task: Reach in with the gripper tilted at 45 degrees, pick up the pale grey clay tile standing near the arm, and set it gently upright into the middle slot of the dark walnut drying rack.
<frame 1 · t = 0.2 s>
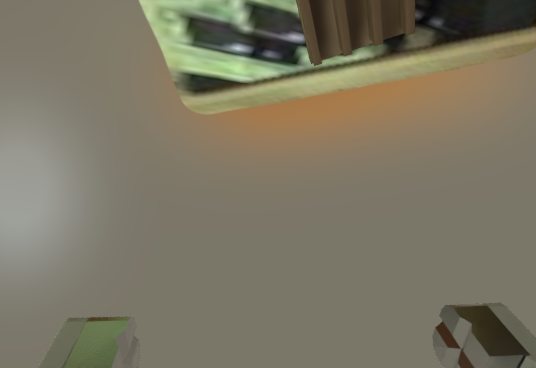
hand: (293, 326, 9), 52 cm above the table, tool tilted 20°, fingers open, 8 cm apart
drying rack: (351, 0, 52), on the table
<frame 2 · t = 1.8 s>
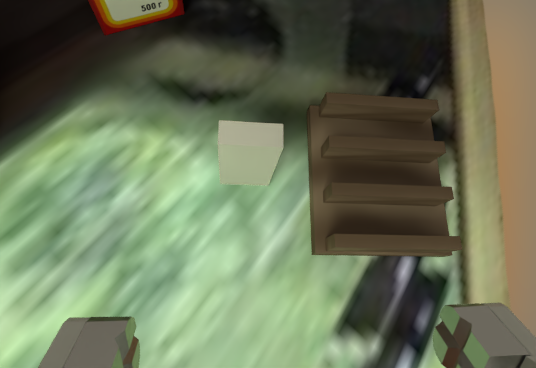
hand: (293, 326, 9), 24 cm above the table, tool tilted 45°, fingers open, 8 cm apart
baking soda box: (136, 4, 41), on the table
drying rack: (371, 181, 37), on the table
clay tile: (244, 175, 36), on the table
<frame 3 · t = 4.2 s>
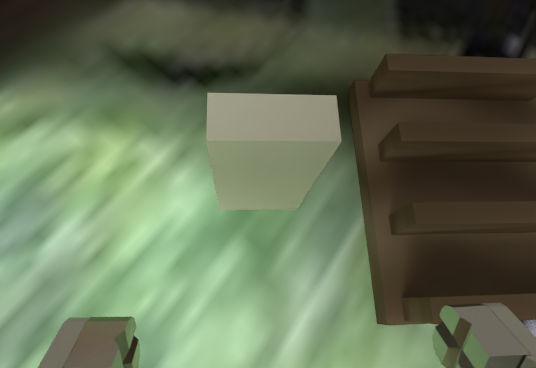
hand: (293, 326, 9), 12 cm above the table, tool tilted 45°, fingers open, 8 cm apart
drying rack: (459, 194, 24), on the table
clay tile: (258, 194, 22), on the table
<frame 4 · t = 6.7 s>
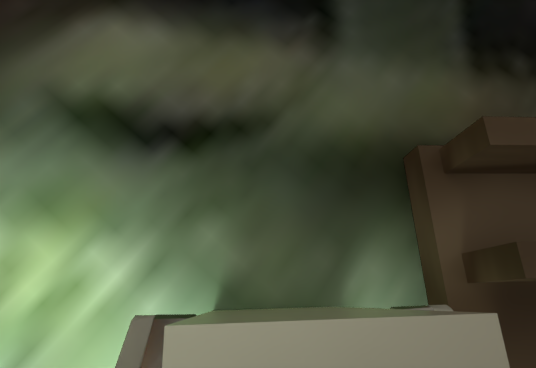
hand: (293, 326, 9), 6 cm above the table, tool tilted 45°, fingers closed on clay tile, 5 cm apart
clay tile: (273, 334, 14), on the table, touching gripper
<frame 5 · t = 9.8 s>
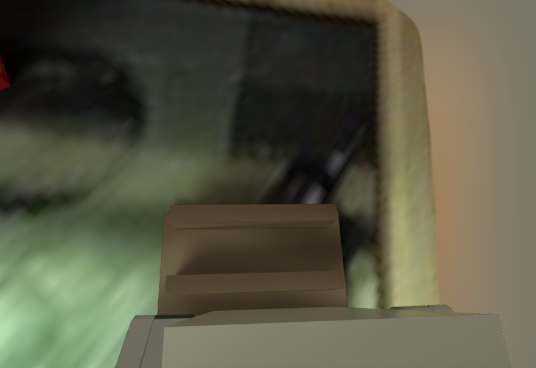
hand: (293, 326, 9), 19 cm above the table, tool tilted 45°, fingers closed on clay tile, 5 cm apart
drying rack: (254, 317, 26), on the table
clay tile: (273, 334, 14), point 13 cm above the table, touching gripper
when the fingers open (8 cm above the table, at t = 13.0 s): clay tile drops 1 cm, resting on drying rack.
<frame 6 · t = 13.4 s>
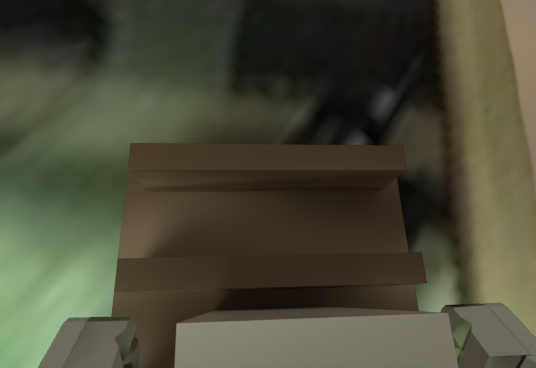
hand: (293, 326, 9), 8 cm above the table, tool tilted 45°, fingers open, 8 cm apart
drying rack: (268, 329, 17), on the table
clay tile: (269, 332, 15), point 1 cm above the table, touching drying rack
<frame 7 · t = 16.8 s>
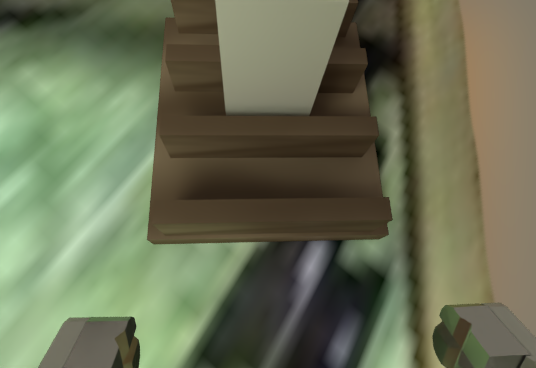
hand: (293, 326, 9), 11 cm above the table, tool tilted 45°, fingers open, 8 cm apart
drying rack: (265, 126, 24), on the table
clay tile: (265, 115, 22), point 1 cm above the table, touching drying rack
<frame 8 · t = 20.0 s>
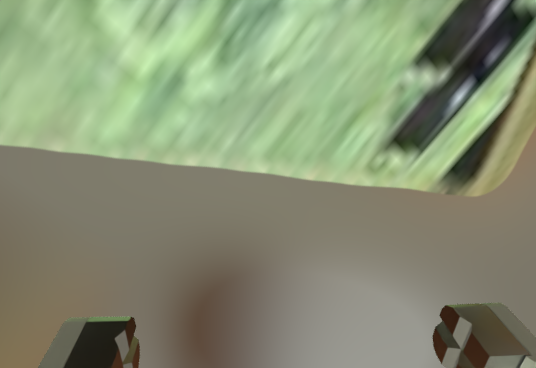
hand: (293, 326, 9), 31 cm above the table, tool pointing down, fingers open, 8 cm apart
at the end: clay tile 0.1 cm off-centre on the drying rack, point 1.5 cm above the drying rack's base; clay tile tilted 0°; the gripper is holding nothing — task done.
